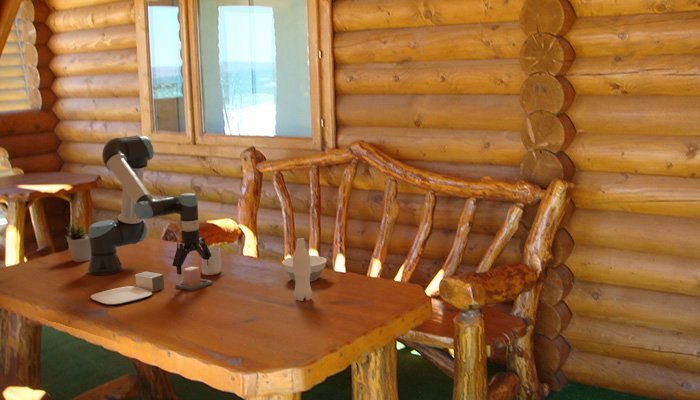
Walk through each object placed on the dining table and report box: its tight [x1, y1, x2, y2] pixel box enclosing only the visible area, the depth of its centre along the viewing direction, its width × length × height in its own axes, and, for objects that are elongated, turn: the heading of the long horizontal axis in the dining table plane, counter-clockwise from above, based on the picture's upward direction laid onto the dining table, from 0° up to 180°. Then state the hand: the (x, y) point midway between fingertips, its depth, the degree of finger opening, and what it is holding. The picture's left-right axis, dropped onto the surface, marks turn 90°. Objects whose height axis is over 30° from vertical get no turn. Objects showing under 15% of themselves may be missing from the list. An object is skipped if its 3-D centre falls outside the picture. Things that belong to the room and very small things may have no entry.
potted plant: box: [64, 222, 91, 263], centre depth 407 cm, size 13×14×20 cm
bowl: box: [281, 255, 328, 283], centre depth 359 cm, size 20×20×8 cm
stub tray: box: [175, 278, 213, 292], centre depth 354 cm, size 10×12×2 cm
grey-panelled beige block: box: [135, 271, 165, 293], centre depth 353 cm, size 11×6×6 cm, turn 53°
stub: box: [181, 266, 202, 287], centre depth 355 cm, size 5×6×7 cm
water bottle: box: [292, 237, 313, 302], centre depth 327 cm, size 7×7×25 cm
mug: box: [200, 246, 222, 276], centre depth 376 cm, size 12×9×11 cm
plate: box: [90, 285, 153, 306], centre depth 341 cm, size 22×22×2 cm
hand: (193, 277), depth 354 cm, fingers open, 13 cm apart
